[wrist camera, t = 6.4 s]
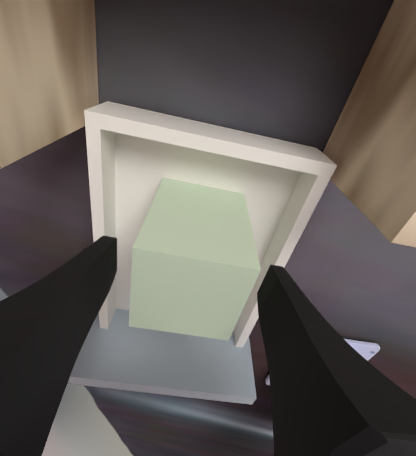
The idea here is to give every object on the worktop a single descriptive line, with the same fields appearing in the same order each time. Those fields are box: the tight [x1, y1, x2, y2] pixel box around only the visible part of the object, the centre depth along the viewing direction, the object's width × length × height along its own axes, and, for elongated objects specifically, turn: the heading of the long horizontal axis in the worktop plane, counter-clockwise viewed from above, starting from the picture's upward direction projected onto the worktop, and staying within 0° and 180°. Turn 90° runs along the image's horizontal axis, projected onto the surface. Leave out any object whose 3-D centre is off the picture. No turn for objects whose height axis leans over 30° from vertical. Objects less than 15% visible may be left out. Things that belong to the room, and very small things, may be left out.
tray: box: [69, 101, 337, 405], centre depth 14 cm, size 16×12×6 cm
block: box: [129, 177, 261, 341], centre depth 12 cm, size 4×4×6 cm
